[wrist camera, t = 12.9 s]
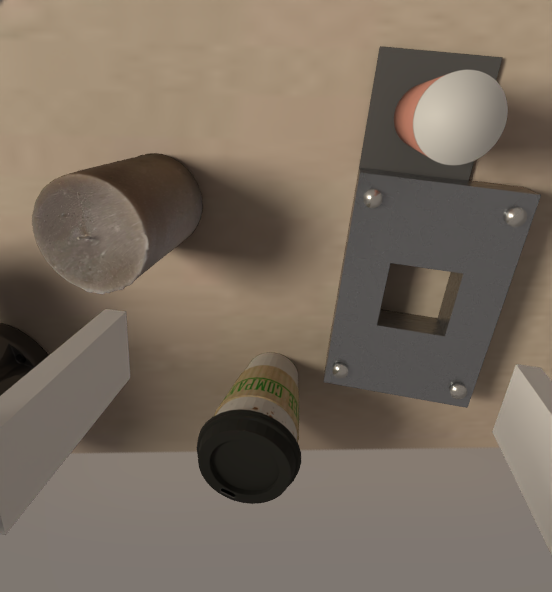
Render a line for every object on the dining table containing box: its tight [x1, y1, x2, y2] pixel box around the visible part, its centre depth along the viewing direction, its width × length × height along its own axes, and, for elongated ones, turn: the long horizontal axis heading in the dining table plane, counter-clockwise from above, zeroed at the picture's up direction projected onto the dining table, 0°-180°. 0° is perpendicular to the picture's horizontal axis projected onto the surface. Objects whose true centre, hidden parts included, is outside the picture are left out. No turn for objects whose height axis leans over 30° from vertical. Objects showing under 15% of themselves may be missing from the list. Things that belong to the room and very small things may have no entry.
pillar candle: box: [32, 153, 202, 294], centre depth 39 cm, size 10×10×15 cm
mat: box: [359, 46, 502, 181], centre depth 38 cm, size 10×10×1 cm
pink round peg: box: [394, 70, 508, 165], centre depth 32 cm, size 5×5×13 cm
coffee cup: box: [197, 353, 301, 504], centre depth 45 cm, size 10×10×15 cm
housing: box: [324, 168, 541, 408], centre depth 43 cm, size 15×22×5 cm
